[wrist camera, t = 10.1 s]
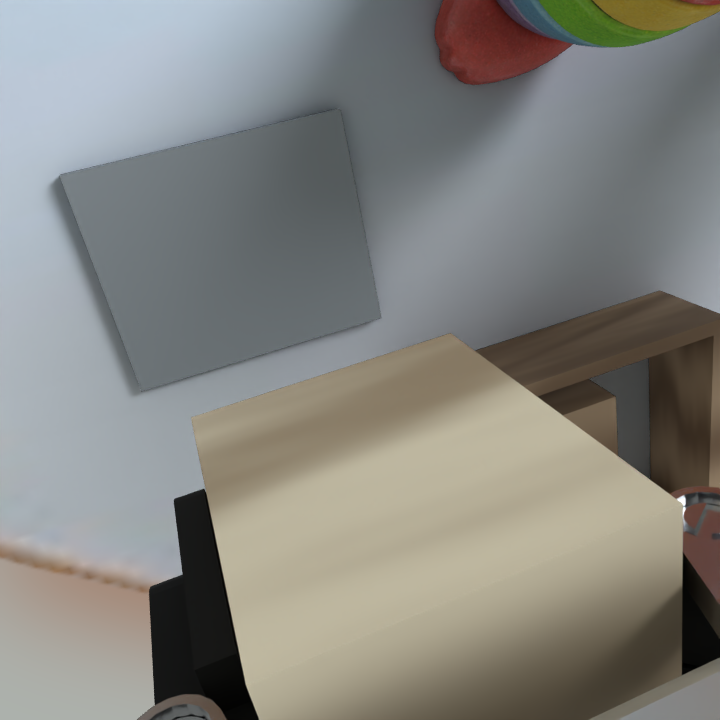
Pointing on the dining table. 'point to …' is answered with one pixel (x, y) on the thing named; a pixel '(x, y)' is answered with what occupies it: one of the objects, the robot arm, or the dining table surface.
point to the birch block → (437, 548)
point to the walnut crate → (624, 347)
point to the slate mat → (228, 246)
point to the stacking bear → (549, 30)
